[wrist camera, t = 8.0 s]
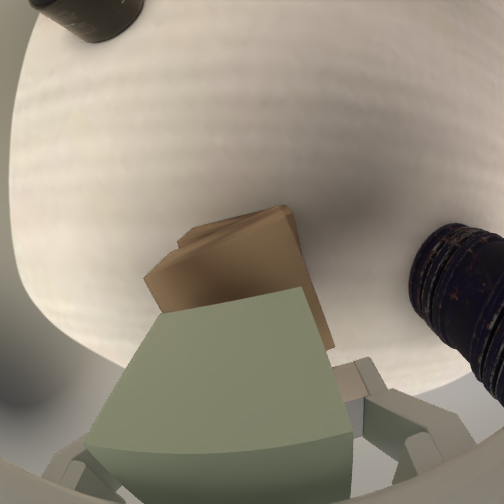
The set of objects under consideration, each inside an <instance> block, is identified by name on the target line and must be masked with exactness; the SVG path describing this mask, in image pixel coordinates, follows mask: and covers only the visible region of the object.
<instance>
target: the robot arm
mask: <svg viewBox="0 0 504 504" xmlns="http://www.w3.org/2000/svg"><path fill="white" fill-rule="evenodd" d="M332 370H333V373H334V375H335V378H336V381H337V384H338V387H339V390H340V393H341V395H342V398H343V401H344V404H345V407H346V410H347V413H348V416H349V419H350V422H351V425H352V428H353V439H354V438H358V437H361V436H363V438H365V439H366V440H368V441H369V442H370V443H372V444H373V445H375V446H376V447H377V448H379V449H380V450H382V451H383V452H385V453H386V454H387V455H389V456H390V457H392V458H393V459H395V460H396V461H398V462H399V463H398V466H397V470H396V472H395V475H394V478H393V481H392V484H393V485H392V486H390V487H387V488H384V489H381V490H378V491H375V492H372V493H368V494H365V495H362V496H358V497H355V498H351V499H347V500H343V501H339V502H335V503H330V504H504V427H503V428H501V429H500V430H498V431H497V432H496V433H494V434H493V435H491V436H490V437H488V438H487V439H485V440H483V441H482V442H480V443H479V444H476V442H475V441H474V439H473V438H472V436H471V435H470V433H469V432H468V430H467V428H466V427H465V426H464V424H463V422H462V421H461V419H460V418H459V417H458V415H457V414H455V413H453V412H450V411H447V410H445V409H442V408H440V407H437V406H435V405H432V404H429V403H427V402H424V401H422V400H420V399H417V398H415V397H412V396H410V395H408V394H405V393H403V392H400V391H398V390H396V389H393V388H392V389H389V390H388V388H387V387H386V385H385V383H384V381H383V379H382V378H381V376H380V374H379V372H378V370H377V369H376V367H375V365H374V363H373V362H372V360H371V358H369V357H366V358H362V359H359V360H356V361H353V362H350V363H347V364H343V365H339V366H336V367H332ZM87 434H88V432H87V433H86V434H84V435H83V436H81V437H80V438H78V439H77V440H75V441H74V442H72V443H70V444H69V445H67V446H66V447H64V448H63V449H61V450H59V451H58V452H56V453H55V454H54V456H53V457H52V459H51V460H50V462H49V464H48V465H47V467H46V469H45V471H44V473H43V474H42V476H41V477H39V476H37V475H35V474H32V473H30V472H28V471H26V470H24V469H22V468H20V467H18V466H15V465H14V464H12V463H10V462H8V461H6V460H5V459H3V458H1V457H0V504H125V503H126V502H125V500H124V499H123V498H122V497H121V496H120V495H118V494H117V493H116V491H117V490H118V489H119V488H120V487H121V486H122V484H121V483H120V482H119V481H118V480H116V479H115V478H114V477H113V476H112V475H111V474H110V473H109V472H108V471H107V470H106V469H105V468H104V467H103V466H102V465H101V464H100V463H99V462H98V460H97V459H96V458H95V457H94V456H93V455H92V454H91V453H90V452H89V451H88V450H87V448H86V447H85V446H84V445H83V444H82V443H83V441H84V440H85V438H86V436H87Z"/></svg>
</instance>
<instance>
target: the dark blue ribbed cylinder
mask: <svg viewBox="0 0 504 504" xmlns="http://www.w3.org/2000/svg"><path fill="white" fill-rule="evenodd" d="M409 297H410V301H411V304H412V306H413V308H414V310H415V311H416V313H417V314H418V315H419V316H420V317H421V318H423V319H424V320H425V321H426V323H427V325H428V326H429V327H430V328H431V330H432V331H433V332H434V333H435V334H436V335H437V336H439V338H440V339H441V340H442V342H444V343H445V344H446V345H448V346H449V347H451V348H453V349H457V350H458V351H459V352H460V354H461V355H462V356H463V357H464V358H465V359H466V360H467V361H468V362H469V363H470V366H471V369H472V371H473V373H474V374H475V377H476V378H477V380H478V381H480V382H482V383H483V384H484V387H485V388H486V390H487V391H488V392H489V393H490V394H491V395H492V397H493V398H494V399H497V400H498V401H499V402H500V404H501V405H502V406H503V407H504V238H502V237H501V236H500V235H498V234H495V233H490V232H488V231H485V230H482V229H479V228H471V227H468V226H466V225H463V224H458V223H452V224H448V225H444V226H443V227H441V228H439V229H437V230H436V231H435V232H433V233H432V234H431V235H430V236H429V237H428V238H427V239H426V241H425V242H424V243H423V244H422V246H421V248H420V249H419V251H418V253H417V255H416V257H415V259H414V262H413V265H412V268H411V272H410V276H409Z"/></svg>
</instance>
